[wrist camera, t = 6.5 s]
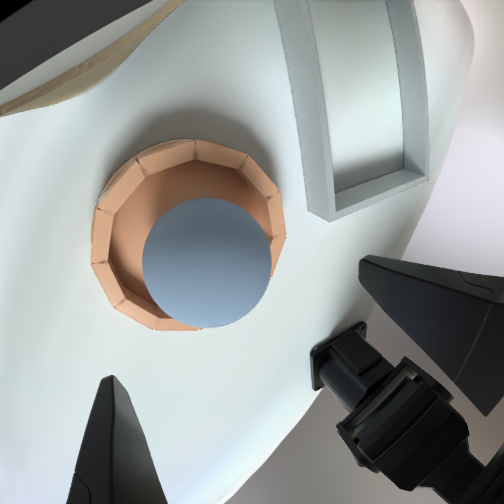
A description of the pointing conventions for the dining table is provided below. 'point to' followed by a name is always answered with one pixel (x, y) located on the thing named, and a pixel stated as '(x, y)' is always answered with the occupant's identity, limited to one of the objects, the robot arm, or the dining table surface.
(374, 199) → the shallow serving tray
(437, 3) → the dining table surface
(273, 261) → the bowl
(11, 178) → the dining table surface
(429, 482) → the robot arm
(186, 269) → the ball
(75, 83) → the coffee cup
